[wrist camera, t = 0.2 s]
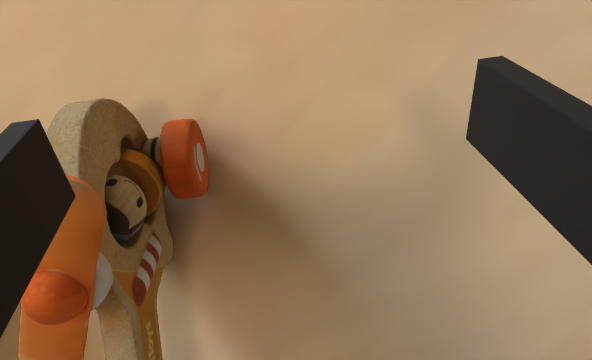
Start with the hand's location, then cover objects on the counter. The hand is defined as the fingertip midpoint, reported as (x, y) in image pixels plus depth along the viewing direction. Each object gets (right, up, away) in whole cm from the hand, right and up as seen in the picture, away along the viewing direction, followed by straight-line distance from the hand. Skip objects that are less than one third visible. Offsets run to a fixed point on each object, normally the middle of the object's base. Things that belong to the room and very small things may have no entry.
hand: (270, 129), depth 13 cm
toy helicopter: (-9, -6, +16) cm, 19 cm away
